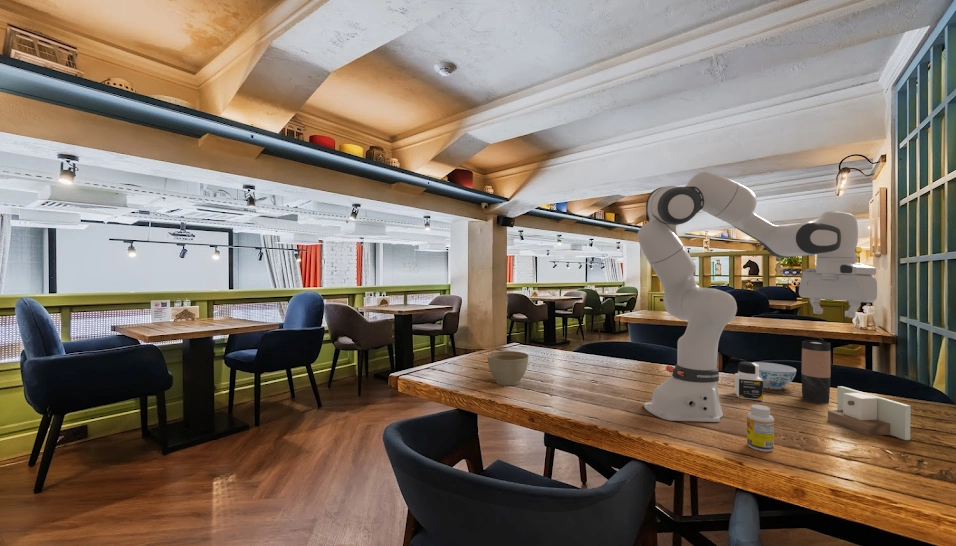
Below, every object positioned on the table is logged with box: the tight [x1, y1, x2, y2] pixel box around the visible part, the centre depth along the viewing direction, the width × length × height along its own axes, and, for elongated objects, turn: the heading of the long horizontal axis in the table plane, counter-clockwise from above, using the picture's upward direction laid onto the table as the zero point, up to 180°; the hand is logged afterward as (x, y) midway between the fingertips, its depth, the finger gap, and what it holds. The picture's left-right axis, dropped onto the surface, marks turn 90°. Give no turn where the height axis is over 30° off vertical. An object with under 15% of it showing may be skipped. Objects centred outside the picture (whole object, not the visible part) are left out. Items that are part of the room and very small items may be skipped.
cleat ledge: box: [827, 409, 891, 437], centre depth 115 cm, size 7×11×3 cm, turn 7°
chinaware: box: [753, 361, 797, 390], centre depth 155 cm, size 15×15×8 cm
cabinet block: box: [843, 393, 877, 420], centre depth 115 cm, size 6×5×6 cm
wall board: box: [836, 385, 912, 441], centre depth 116 cm, size 2×18×9 cm, turn 7°
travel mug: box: [801, 339, 831, 404], centre depth 139 cm, size 8×8×20 cm
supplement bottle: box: [746, 404, 775, 452], centre depth 102 cm, size 6×6×10 cm
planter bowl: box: [486, 350, 530, 387], centre depth 159 cm, size 16×16×11 cm
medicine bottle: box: [734, 361, 764, 401], centre depth 143 cm, size 7×7×12 cm
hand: (833, 315), depth 118 cm, fingers open, 8 cm apart
